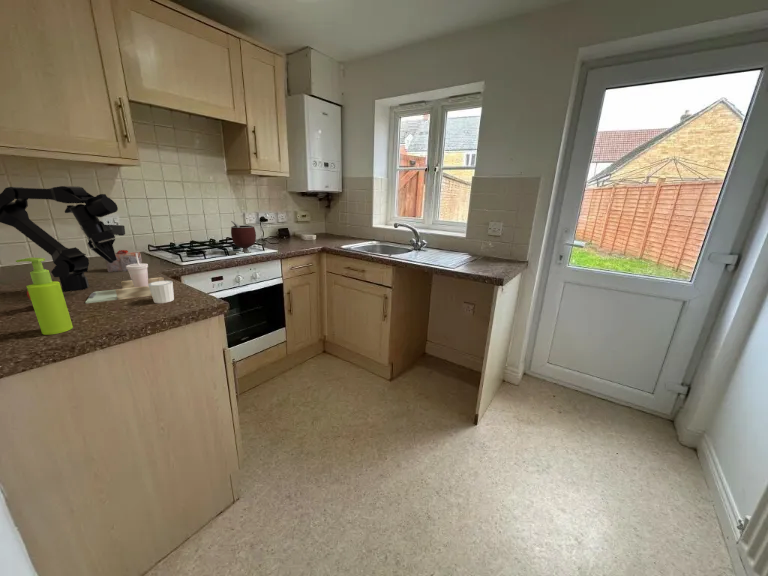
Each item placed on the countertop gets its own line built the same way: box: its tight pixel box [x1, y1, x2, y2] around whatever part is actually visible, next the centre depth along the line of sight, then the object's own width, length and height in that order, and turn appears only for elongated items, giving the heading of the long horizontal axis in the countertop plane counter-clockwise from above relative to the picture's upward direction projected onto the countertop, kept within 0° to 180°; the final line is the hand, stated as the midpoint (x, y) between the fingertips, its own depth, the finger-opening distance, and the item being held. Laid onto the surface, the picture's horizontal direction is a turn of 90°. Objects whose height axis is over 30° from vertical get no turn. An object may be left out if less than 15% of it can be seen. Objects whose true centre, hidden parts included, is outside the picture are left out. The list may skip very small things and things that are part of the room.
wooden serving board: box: [116, 276, 165, 300], centre depth 115 cm, size 13×13×4 cm
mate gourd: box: [230, 220, 257, 253], centre depth 191 cm, size 16×14×20 cm
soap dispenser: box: [15, 257, 74, 336], centre depth 81 cm, size 6×7×20 cm
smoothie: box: [126, 253, 149, 287], centre depth 113 cm, size 6×6×14 cm
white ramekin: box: [148, 279, 175, 304], centre depth 106 cm, size 7×7×7 cm
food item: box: [104, 249, 143, 273], centre depth 148 cm, size 14×8×10 cm, turn 121°
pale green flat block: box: [85, 288, 118, 304], centre depth 109 cm, size 8×13×2 cm, turn 32°
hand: (113, 261), depth 115 cm, fingers open, 9 cm apart
